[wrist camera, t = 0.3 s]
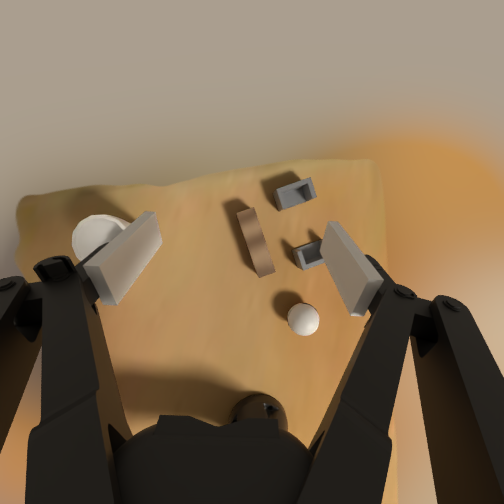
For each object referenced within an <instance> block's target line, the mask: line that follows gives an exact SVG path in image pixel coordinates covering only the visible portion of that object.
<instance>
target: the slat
mask: <svg viewBox="0 0 504 504" xmlns="http://www.w3.org/2000/svg"><path fill="white" fill-rule="evenodd" d="M236 216H237V219H238V222H239V225H240V227H241V230H242V233H243V236H244V239H245V242H246V245H247V248H248V251H249V253H250V256H251V259H252V262H253V265H254V268H255V271H256V274H257V275H258V277H259V278H260V277H263V276H266V275H269V274H271V273H274V272H276V271H275V268H274V265H273V262H272V259H271V256H270V253H269V250H268V247H267V244H266V241H265V238H264V235H263V232H262V229H261V226H260V223H259V220H258V218H257V215H256V212H255V209H254V207H253V208H250V209H247V210H244V211H241V212H238V213H236Z"/></svg>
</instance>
